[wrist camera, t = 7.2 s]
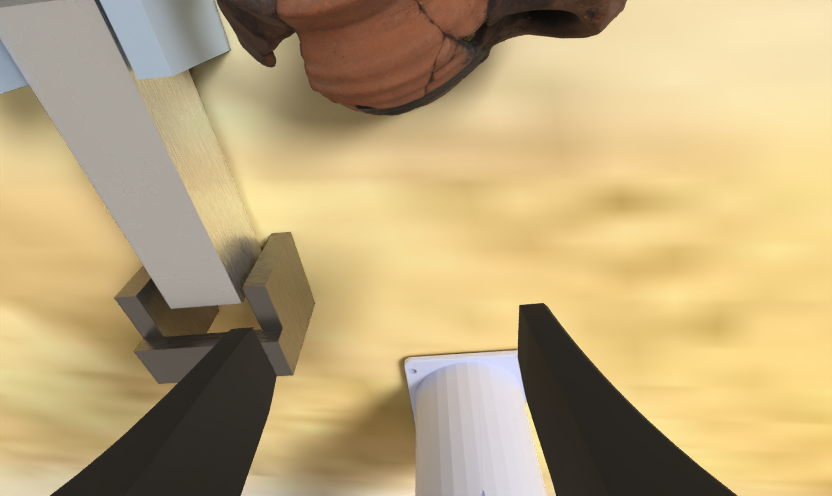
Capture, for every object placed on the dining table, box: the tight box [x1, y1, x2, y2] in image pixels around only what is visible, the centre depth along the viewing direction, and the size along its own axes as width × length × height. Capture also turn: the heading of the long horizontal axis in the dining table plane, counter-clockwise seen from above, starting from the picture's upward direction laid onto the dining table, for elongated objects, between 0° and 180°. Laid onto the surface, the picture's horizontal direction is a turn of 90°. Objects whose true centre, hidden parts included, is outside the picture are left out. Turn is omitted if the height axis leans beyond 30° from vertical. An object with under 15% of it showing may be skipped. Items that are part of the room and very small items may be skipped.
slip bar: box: [0, 0, 262, 309], centre depth 16 cm, size 12×3×3 cm, turn 6°
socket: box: [0, 0, 231, 94], centre depth 13 cm, size 4×7×4 cm, turn 96°
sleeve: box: [114, 232, 315, 384], centre depth 20 cm, size 5×7×5 cm
